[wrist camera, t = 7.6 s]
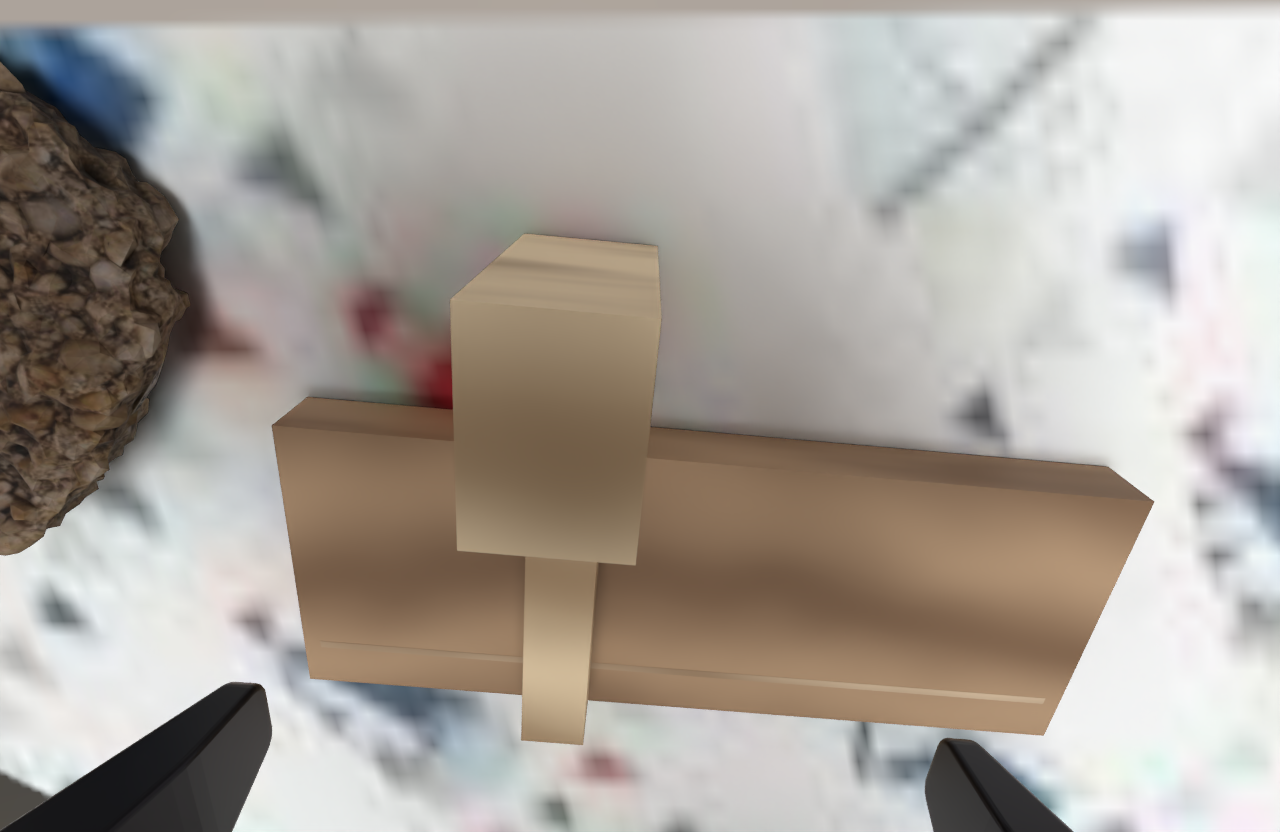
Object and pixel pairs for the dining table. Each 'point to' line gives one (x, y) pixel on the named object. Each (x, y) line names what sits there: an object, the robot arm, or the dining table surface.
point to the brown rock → (72, 312)
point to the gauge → (555, 441)
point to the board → (722, 573)
